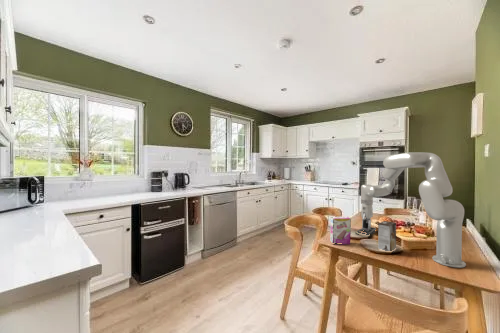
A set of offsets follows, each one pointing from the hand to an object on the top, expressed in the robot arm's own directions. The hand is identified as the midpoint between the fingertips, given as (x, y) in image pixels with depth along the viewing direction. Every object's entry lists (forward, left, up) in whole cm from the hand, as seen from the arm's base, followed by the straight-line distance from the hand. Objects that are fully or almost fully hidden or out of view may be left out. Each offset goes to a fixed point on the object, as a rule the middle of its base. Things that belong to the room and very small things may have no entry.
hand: (366, 227), depth 161 cm
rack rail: (0, 0, -4) cm, 4 cm away
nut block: (0, 0, -2) cm, 2 cm away
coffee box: (-27, -20, -4) cm, 34 cm away
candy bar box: (-34, +4, -4) cm, 35 cm away
